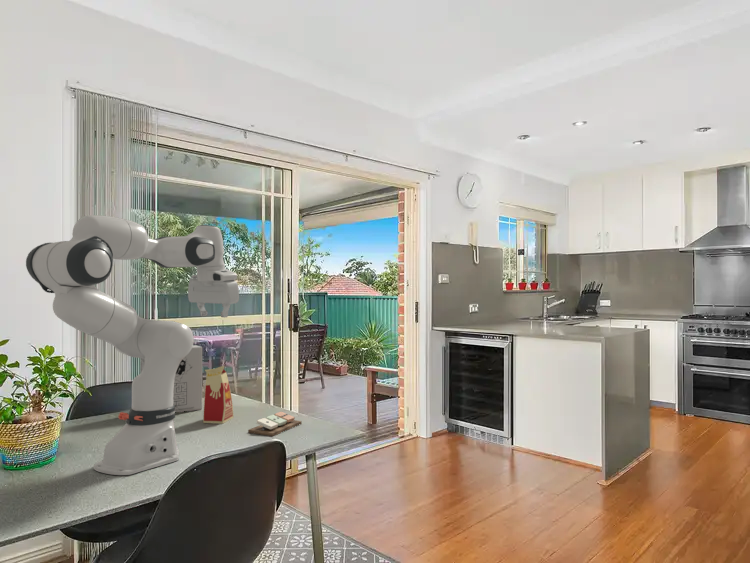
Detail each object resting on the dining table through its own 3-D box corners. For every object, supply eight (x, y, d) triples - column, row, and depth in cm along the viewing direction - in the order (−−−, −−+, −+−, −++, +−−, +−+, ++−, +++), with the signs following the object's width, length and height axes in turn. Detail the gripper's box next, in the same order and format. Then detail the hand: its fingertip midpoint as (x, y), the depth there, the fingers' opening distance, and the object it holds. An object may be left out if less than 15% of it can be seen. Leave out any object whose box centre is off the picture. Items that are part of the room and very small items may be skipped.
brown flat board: (273, 436, 169) (273, 429, 169) (248, 432, 174) (248, 425, 174) (301, 423, 185) (301, 417, 185) (278, 421, 189) (278, 414, 189)
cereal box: (196, 406, 213) (197, 345, 214) (202, 409, 207) (202, 346, 207) (139, 413, 201) (140, 348, 201) (143, 417, 195) (144, 350, 195)
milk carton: (233, 417, 194) (233, 363, 195) (224, 423, 185) (224, 367, 185) (210, 416, 195) (210, 363, 195) (199, 423, 186) (199, 367, 186)
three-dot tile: (287, 422, 181) (288, 419, 181) (273, 416, 183) (274, 413, 183) (294, 419, 184) (294, 416, 184) (280, 414, 187) (281, 411, 187)
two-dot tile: (279, 425, 176) (280, 422, 176) (265, 419, 179) (265, 416, 179) (286, 423, 180) (286, 420, 180) (272, 417, 182) (272, 414, 182)
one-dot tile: (270, 429, 172) (271, 426, 172) (256, 423, 174) (256, 420, 174) (277, 426, 175) (278, 423, 175) (263, 420, 178) (264, 417, 178)
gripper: (181, 275, 173) (184, 316, 174) (226, 275, 163) (229, 319, 164) (196, 274, 178) (199, 313, 180) (240, 274, 168) (243, 316, 169)
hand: (214, 316), depth 172 cm, fingers open, 8 cm apart
